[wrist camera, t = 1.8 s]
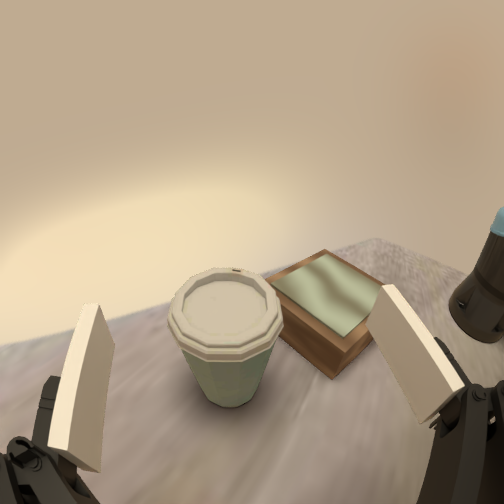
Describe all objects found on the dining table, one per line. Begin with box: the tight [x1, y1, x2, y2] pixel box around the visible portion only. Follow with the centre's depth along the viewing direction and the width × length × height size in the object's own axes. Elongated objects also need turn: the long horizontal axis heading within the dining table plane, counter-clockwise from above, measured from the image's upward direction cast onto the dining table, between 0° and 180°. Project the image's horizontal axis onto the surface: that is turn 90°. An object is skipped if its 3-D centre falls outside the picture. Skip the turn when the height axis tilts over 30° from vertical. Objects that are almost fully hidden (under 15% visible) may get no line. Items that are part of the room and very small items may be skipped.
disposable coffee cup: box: [167, 268, 284, 407], centre depth 29 cm, size 11×11×15 cm
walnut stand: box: [265, 249, 385, 379], centre depth 42 cm, size 16×16×6 cm
